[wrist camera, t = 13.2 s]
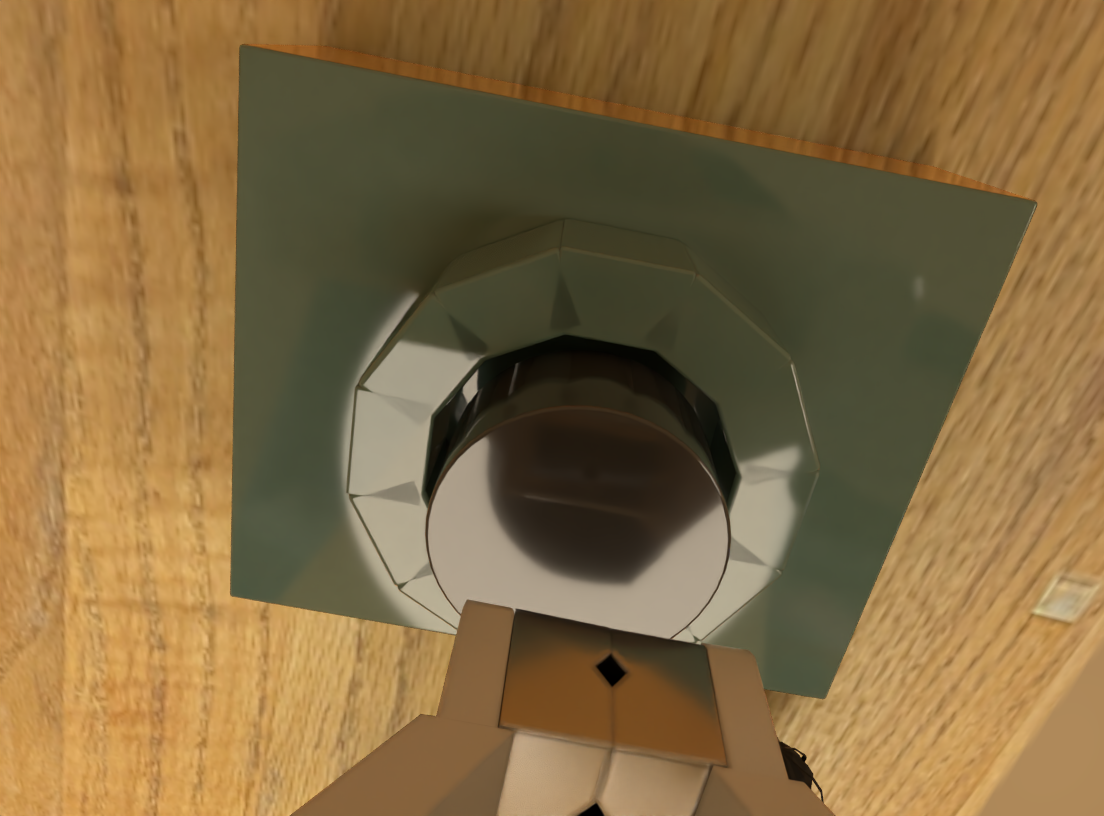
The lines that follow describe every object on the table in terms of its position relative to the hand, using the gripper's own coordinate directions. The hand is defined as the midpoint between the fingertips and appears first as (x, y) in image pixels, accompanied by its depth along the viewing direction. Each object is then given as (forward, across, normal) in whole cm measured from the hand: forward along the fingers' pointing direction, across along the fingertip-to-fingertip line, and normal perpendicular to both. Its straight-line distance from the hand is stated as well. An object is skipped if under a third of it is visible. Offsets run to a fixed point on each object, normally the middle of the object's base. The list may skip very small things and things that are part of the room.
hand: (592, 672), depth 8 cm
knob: (+4, 0, 0) cm, 4 cm away
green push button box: (+10, 0, 0) cm, 10 cm away
